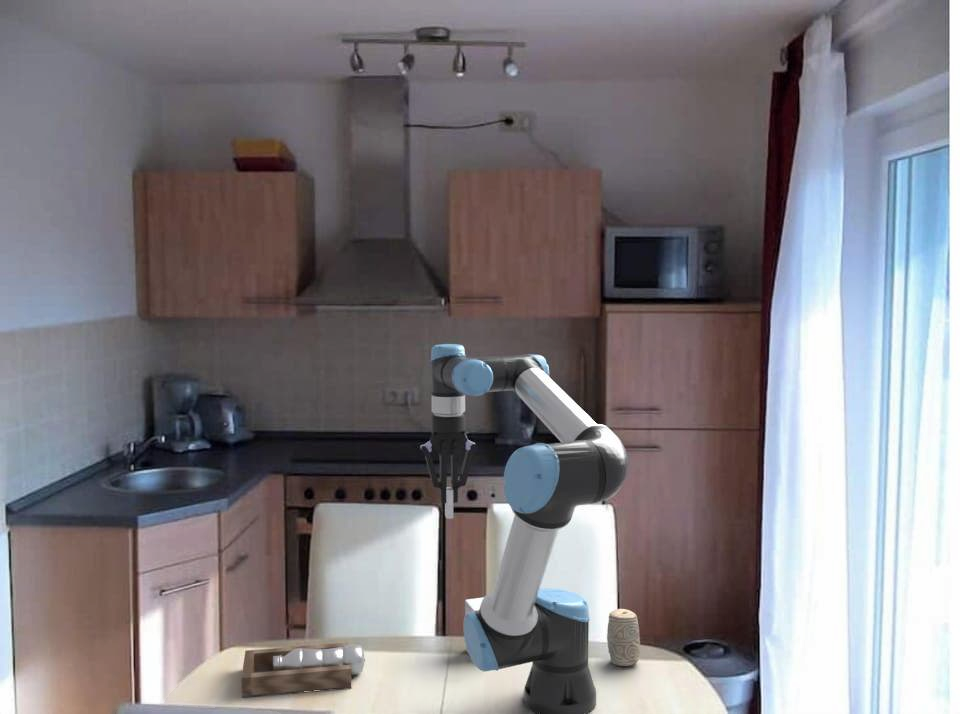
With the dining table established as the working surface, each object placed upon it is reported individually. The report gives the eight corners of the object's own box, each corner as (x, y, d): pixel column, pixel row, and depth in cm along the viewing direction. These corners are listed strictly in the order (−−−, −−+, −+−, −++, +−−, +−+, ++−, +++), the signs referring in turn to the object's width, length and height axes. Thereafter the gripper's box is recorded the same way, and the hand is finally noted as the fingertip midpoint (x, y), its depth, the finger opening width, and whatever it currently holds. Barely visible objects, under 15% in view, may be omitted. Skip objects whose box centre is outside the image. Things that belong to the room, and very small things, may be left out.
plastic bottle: (364, 637, 211) (273, 642, 208) (365, 659, 205) (272, 665, 202) (364, 658, 214) (274, 663, 211) (365, 680, 208) (273, 687, 205)
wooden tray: (348, 660, 217) (348, 642, 216) (351, 688, 203) (351, 668, 203) (246, 669, 213) (245, 650, 212) (242, 697, 199) (241, 678, 198)
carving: (608, 655, 219) (609, 606, 218) (641, 659, 217) (642, 609, 216) (604, 667, 213) (605, 616, 212) (638, 671, 211) (639, 619, 210)
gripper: (474, 409, 214) (474, 510, 217) (417, 411, 212) (418, 513, 214) (480, 415, 207) (480, 519, 209) (421, 417, 204) (422, 523, 207)
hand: (449, 516), depth 212 cm, fingers closed
